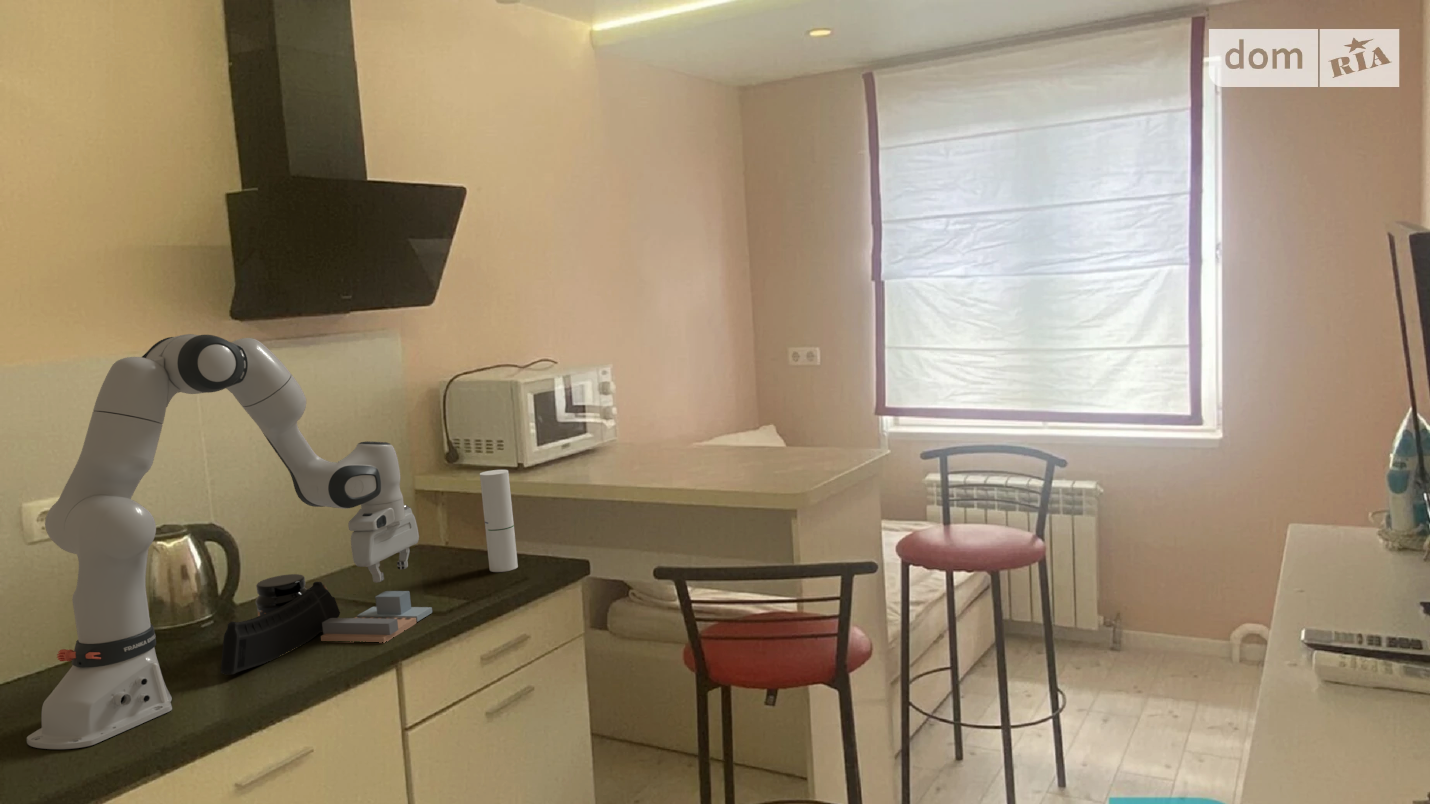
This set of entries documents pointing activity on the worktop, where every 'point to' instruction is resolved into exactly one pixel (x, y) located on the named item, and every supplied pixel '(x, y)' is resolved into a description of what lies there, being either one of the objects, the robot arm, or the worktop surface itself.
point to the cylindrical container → (498, 520)
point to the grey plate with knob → (396, 607)
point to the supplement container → (278, 592)
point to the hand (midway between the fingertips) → (391, 574)
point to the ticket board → (371, 637)
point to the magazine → (277, 630)
